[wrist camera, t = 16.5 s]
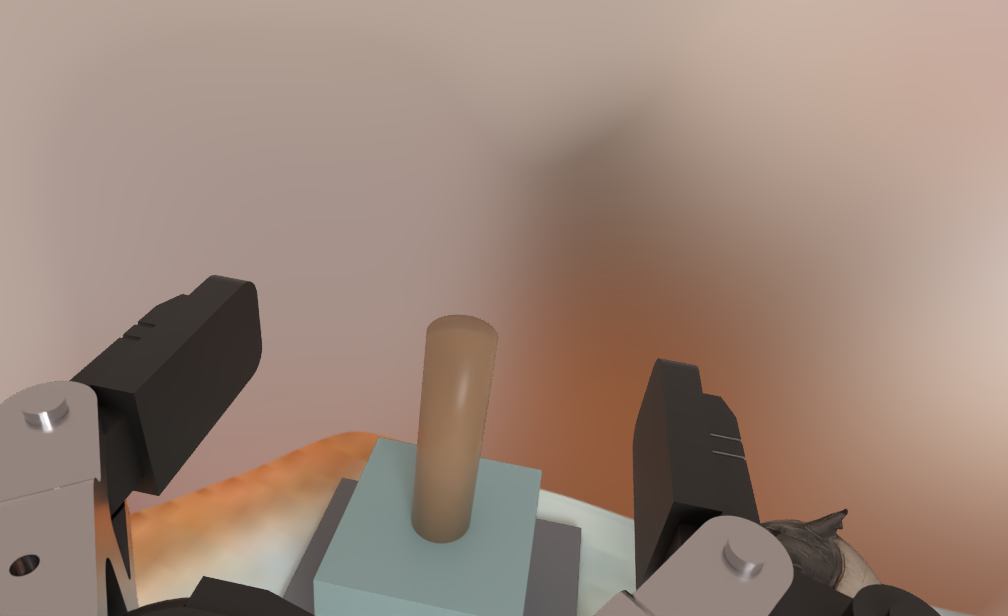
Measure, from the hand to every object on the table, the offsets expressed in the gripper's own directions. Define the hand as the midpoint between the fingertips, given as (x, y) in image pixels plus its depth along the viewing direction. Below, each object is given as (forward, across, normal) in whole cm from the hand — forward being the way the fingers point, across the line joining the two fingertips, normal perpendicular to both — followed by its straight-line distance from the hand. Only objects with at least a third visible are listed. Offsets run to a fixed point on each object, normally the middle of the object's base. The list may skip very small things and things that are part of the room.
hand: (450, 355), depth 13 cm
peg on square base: (+13, -2, -30) cm, 33 cm away
